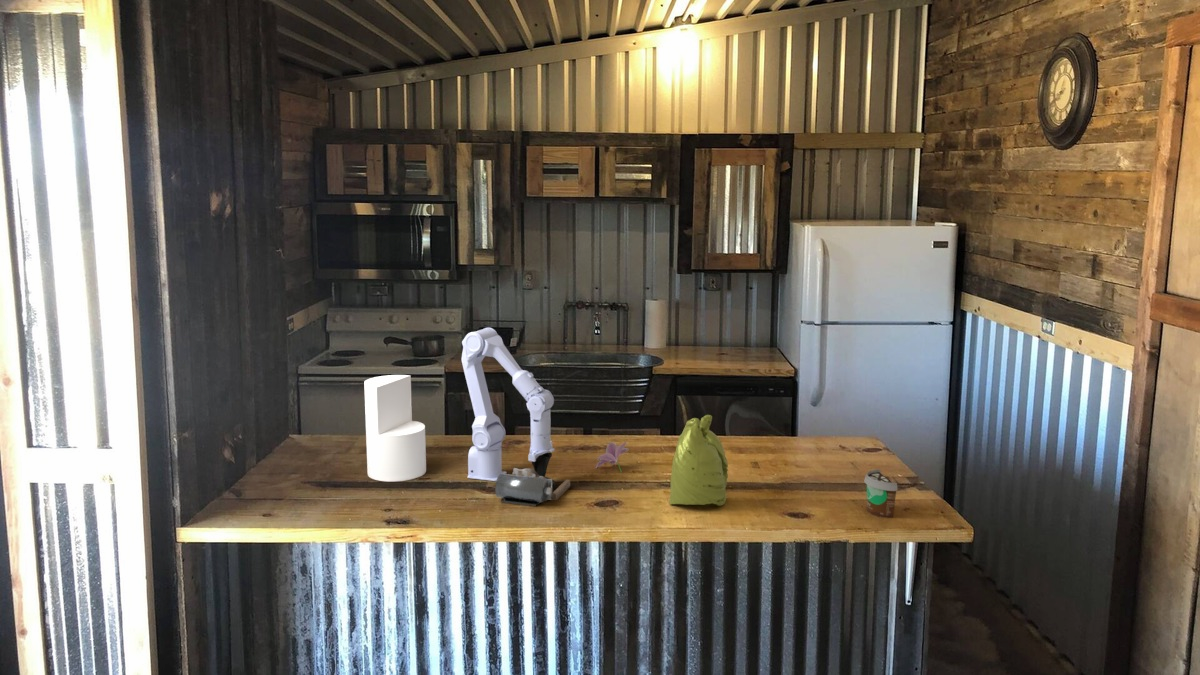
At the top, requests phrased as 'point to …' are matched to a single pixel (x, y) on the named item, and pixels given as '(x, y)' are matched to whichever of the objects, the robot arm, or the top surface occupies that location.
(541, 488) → the motor mount
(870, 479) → the food container
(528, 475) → the caster wheel
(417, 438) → the cylinder
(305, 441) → the top surface
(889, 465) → the top surface
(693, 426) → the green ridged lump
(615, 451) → the lily
